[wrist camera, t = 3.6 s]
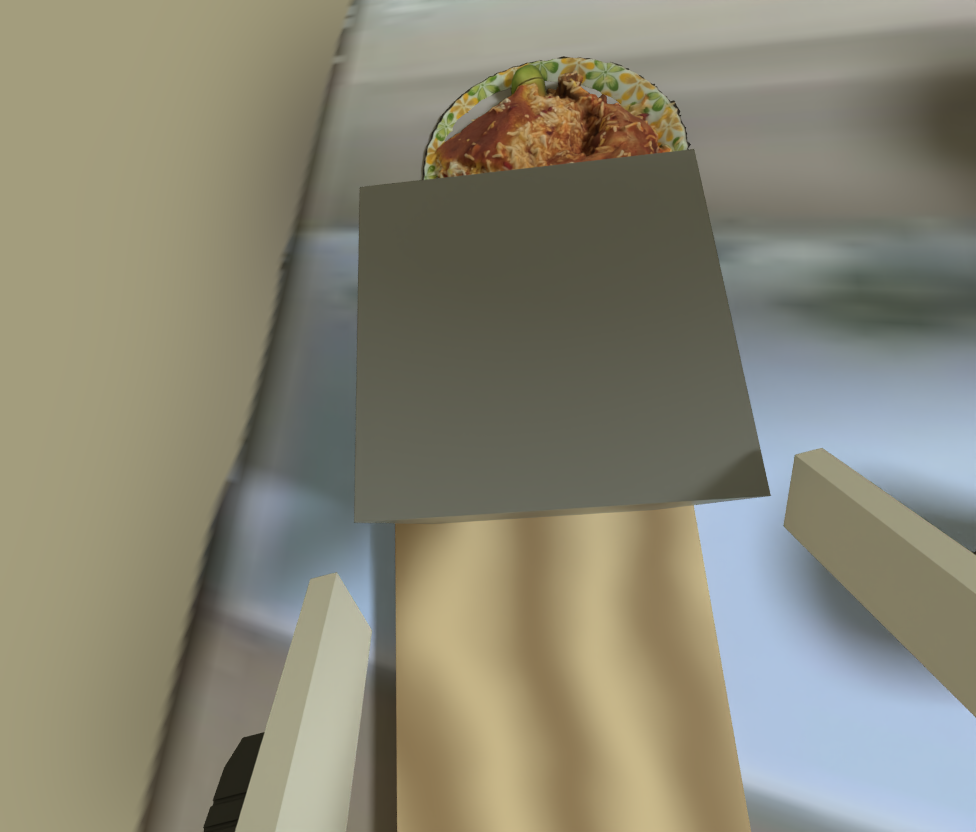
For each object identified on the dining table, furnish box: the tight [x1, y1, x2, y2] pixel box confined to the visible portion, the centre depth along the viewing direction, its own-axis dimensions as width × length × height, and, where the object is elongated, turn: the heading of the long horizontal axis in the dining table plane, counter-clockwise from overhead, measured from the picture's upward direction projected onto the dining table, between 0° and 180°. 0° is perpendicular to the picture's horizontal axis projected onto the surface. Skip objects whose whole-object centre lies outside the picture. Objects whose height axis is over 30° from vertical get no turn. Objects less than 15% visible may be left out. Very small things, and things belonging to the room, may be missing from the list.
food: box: [423, 56, 691, 180], centre depth 30 cm, size 18×17×3 cm
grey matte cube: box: [354, 149, 771, 524], centre depth 19 cm, size 12×12×11 cm
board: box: [395, 505, 751, 832], centre depth 24 cm, size 16×32×2 cm, turn 3°
